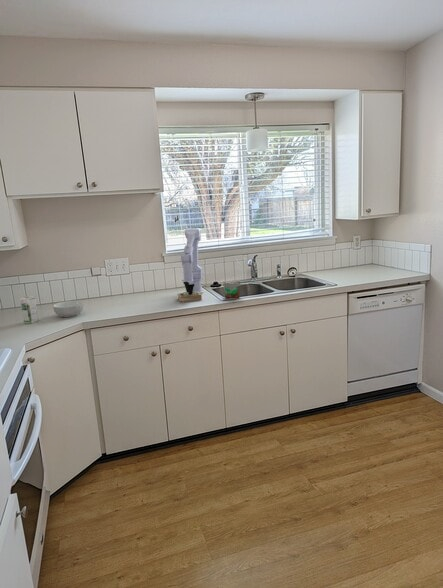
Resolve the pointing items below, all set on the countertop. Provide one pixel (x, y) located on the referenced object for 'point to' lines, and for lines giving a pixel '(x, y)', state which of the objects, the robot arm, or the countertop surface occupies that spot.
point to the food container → (232, 290)
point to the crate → (189, 297)
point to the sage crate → (188, 294)
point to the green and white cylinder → (29, 309)
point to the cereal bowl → (68, 308)
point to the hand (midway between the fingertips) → (189, 293)
